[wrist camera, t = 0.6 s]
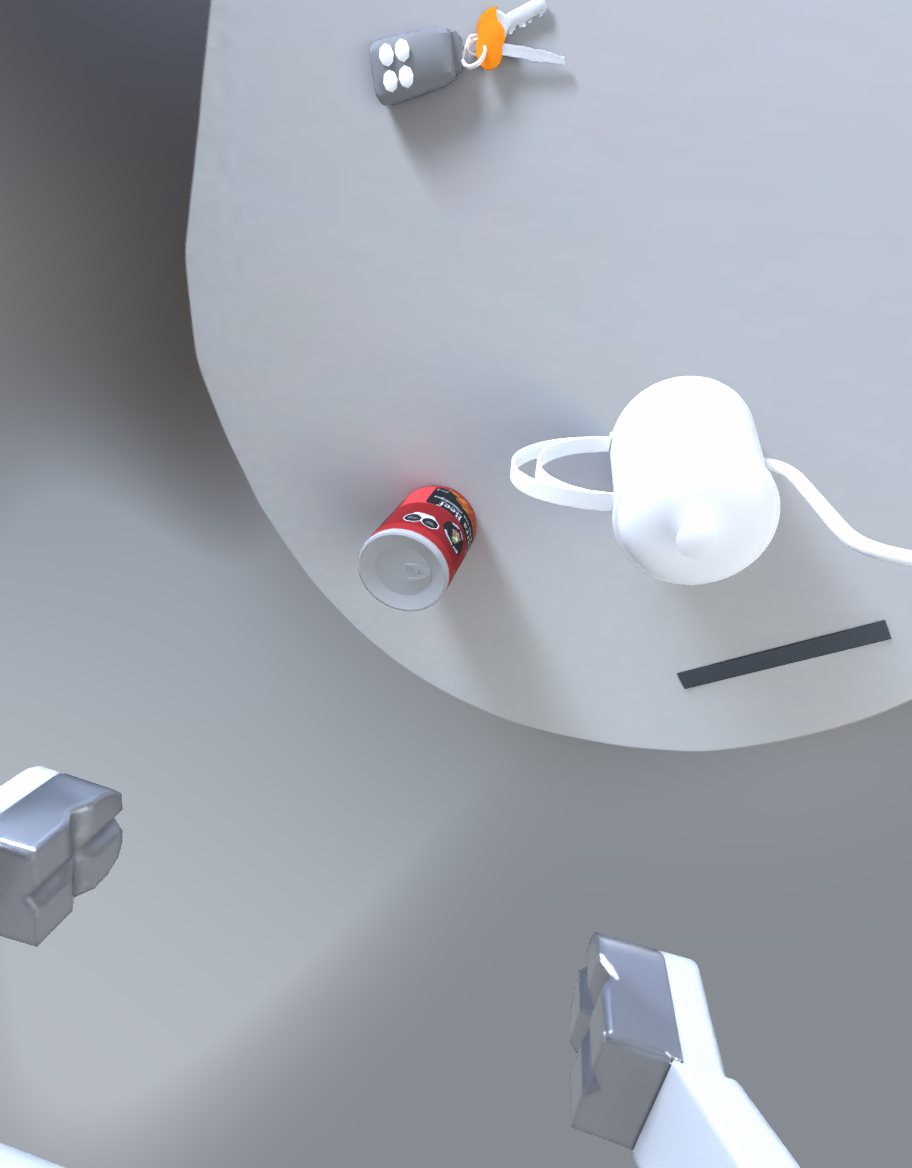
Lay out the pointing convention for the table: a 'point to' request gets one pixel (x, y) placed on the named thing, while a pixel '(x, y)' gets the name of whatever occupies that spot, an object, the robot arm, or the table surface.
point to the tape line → (787, 654)
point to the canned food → (418, 549)
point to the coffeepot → (687, 484)
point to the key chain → (449, 53)
